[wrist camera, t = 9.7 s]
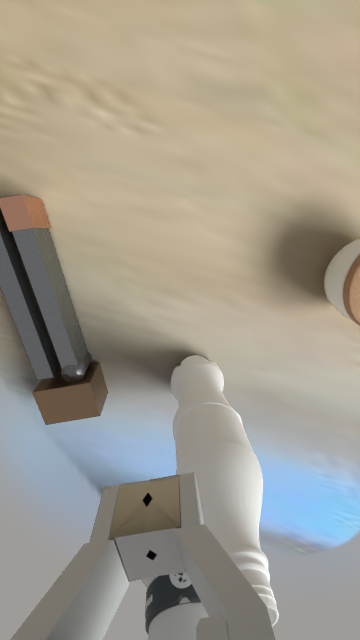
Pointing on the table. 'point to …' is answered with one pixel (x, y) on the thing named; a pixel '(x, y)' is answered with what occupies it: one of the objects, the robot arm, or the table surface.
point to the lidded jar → (345, 281)
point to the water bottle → (221, 469)
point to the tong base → (45, 345)
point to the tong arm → (47, 281)
